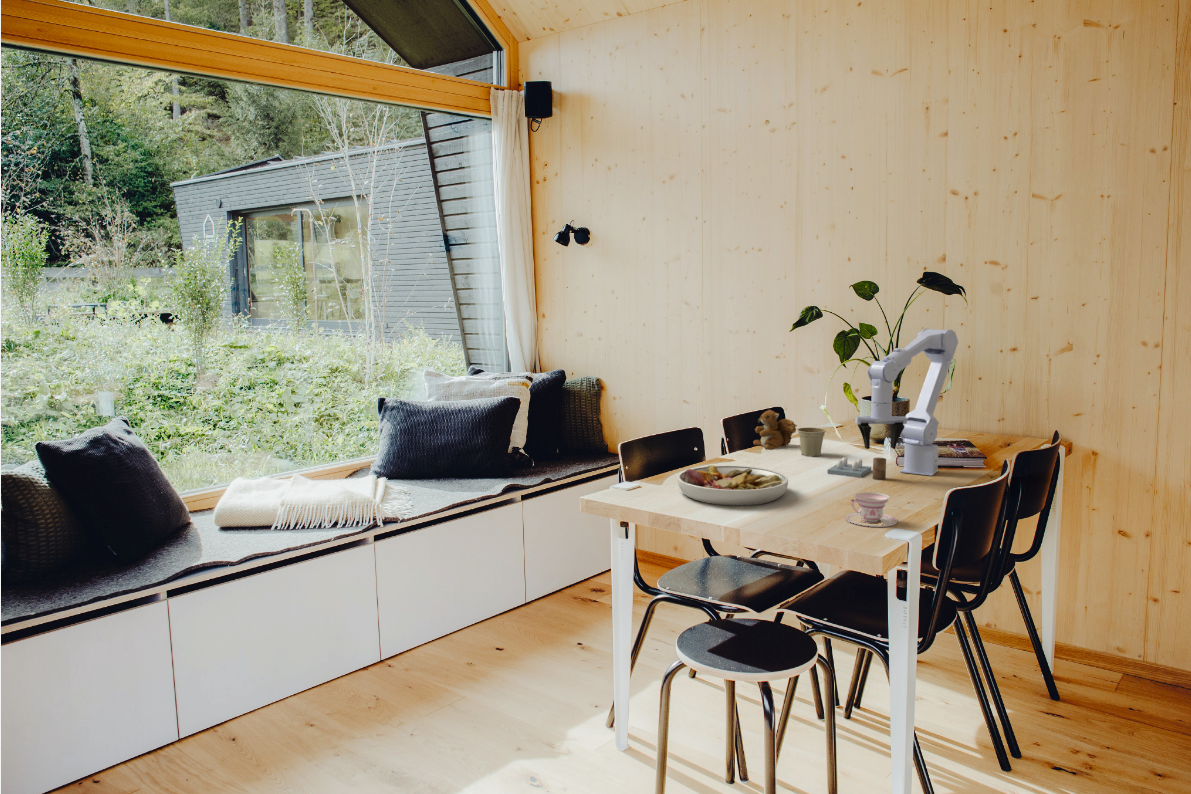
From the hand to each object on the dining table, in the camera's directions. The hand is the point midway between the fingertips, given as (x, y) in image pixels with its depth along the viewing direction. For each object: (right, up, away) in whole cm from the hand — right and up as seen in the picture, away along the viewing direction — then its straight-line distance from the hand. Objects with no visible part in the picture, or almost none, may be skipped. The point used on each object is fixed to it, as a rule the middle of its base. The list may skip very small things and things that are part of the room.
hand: (880, 448), depth 242 cm
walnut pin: (0, -9, +1) cm, 9 cm away
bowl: (-46, -12, -14) cm, 50 cm away
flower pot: (-11, -5, +36) cm, 38 cm away
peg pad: (-6, -8, +10) cm, 14 cm away
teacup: (-17, -15, -42) cm, 47 cm away
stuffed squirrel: (-20, -3, +52) cm, 56 cm away
